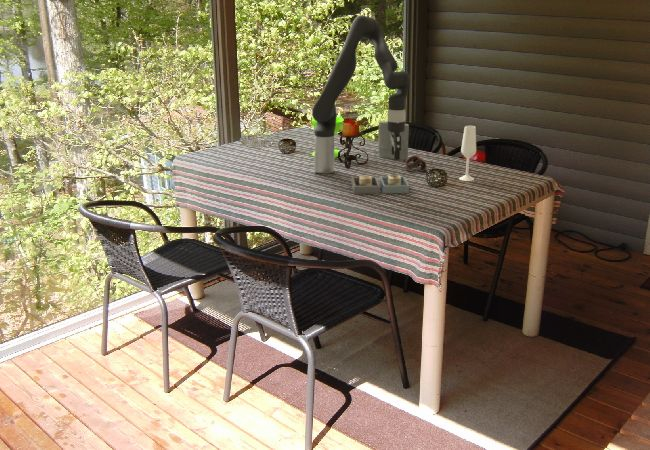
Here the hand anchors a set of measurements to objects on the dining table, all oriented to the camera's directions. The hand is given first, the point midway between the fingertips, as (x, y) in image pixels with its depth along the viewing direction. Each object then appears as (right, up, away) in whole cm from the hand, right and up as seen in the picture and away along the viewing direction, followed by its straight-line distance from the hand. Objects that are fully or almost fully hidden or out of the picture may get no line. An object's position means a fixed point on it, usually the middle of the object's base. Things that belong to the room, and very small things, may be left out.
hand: (395, 157), depth 313 cm
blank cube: (-13, -13, +4) cm, 19 cm away
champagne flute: (+34, -8, +20) cm, 40 cm away
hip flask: (+4, +4, +54) cm, 54 cm away
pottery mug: (+13, -3, +33) cm, 36 cm away
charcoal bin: (-13, -14, +4) cm, 19 cm away
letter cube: (0, -13, +5) cm, 14 cm away
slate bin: (0, -14, +5) cm, 14 cm away
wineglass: (-29, +7, +60) cm, 67 cm away
